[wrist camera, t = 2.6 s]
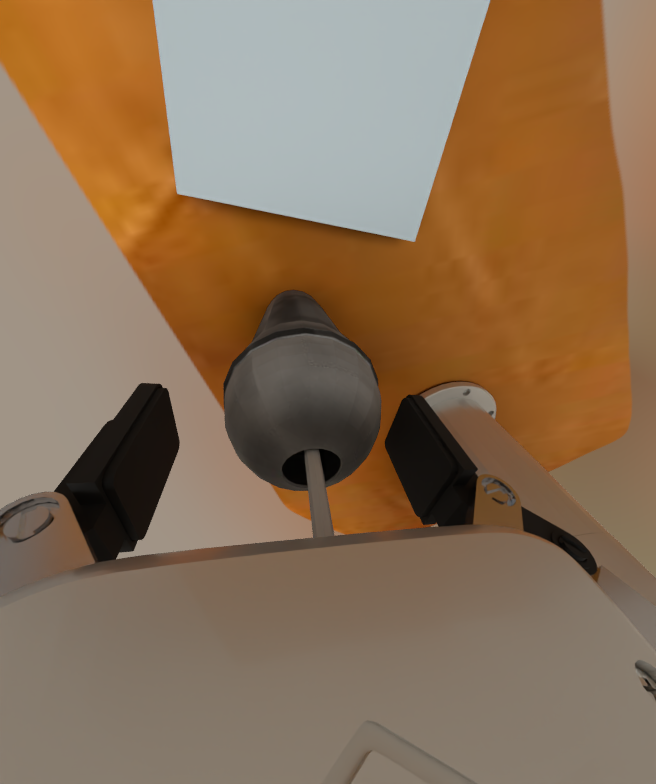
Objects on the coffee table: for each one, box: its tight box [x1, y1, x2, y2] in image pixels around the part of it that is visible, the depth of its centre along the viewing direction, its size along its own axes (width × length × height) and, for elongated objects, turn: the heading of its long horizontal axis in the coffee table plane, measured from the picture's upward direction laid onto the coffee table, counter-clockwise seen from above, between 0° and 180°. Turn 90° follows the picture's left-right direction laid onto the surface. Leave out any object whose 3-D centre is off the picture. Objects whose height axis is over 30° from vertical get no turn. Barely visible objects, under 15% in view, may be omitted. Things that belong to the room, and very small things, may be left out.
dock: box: [153, 0, 490, 242], centre depth 12 cm, size 14×14×3 cm
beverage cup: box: [224, 290, 381, 538], centre depth 13 cm, size 7×7×20 cm
